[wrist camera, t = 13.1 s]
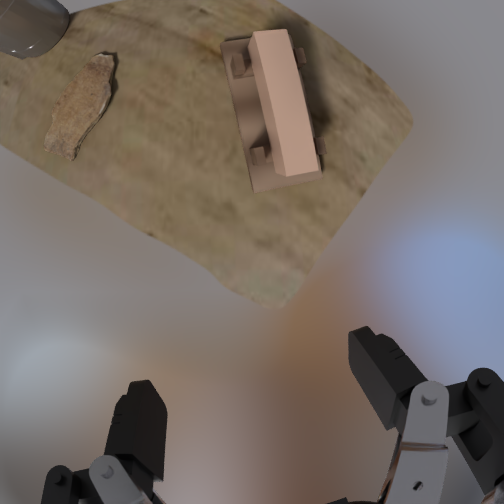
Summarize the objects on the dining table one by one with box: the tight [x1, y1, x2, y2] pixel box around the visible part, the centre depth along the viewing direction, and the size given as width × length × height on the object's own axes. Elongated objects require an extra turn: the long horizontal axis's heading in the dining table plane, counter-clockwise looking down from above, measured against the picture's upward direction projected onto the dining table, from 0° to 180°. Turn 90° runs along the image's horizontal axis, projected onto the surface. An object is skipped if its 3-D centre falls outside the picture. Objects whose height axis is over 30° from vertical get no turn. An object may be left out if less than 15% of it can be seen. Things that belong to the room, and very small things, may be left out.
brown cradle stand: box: [220, 34, 327, 193], centre depth 30 cm, size 20×9×6 cm, turn 12°
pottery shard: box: [44, 53, 115, 161], centre depth 28 cm, size 8×3×15 cm
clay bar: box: [248, 29, 319, 177], centre depth 27 cm, size 4×16×5 cm, turn 12°
